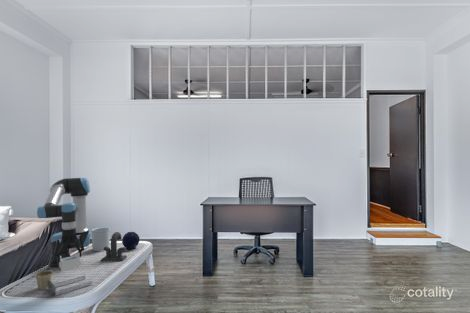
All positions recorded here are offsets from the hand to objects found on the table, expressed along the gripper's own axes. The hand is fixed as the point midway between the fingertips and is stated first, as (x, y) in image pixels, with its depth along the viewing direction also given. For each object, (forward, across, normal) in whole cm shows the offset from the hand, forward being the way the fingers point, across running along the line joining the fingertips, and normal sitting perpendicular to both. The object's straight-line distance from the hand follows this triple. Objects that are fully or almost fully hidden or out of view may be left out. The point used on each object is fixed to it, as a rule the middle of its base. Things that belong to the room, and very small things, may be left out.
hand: (69, 264), depth 179 cm
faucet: (+14, +42, +33) cm, 55 cm away
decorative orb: (+14, +61, +48) cm, 79 cm away
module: (+2, 0, 0) cm, 2 cm away
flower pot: (+14, -11, +11) cm, 21 cm away
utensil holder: (+14, +42, +66) cm, 79 cm away
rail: (+14, 0, 0) cm, 14 cm away
